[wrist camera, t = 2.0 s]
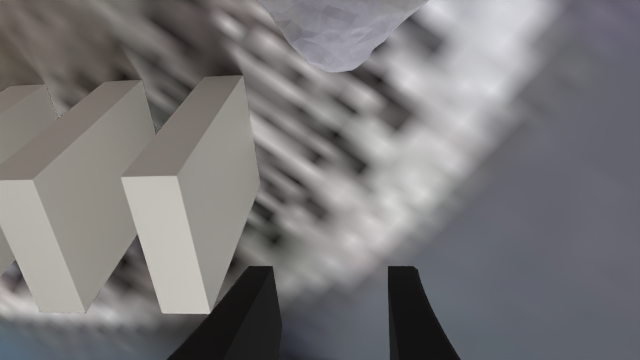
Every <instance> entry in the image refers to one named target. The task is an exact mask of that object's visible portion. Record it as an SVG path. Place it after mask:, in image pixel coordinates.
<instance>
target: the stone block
mask: <svg viewBox="0 0 640 360" xmlns="http://www.w3.org/2000/svg"><path fill="white" fill-rule="evenodd" d="M257 1H258V2H259V3H260V4H261V5H262V6H263V7H264V8H265V9H266V10H267V11H268V12H269V14H270V15H271V17H272V18H273V20H274V21H275V23H276V24H277V26H278V27H279V29H280V30H281V32H282V33H283V35H284V37H285V38H286V40H287V41H288V43H289V44H290V45H291V46H292V47H293V48H294V49H295V50H296V51H297V52H298V53H299V55H300V56H301V57H302V58H303V59H304V60H305V61H306V62H307V63H308V64H310V65H312V66H314V67H316V68H318V69H321V70H324V71H327V72H343V71H350V70H353V69H355V68H357V67H358V66H359V65H360V64H362V63H363V62H364V61H365V60H366V59H368V57H369V55H370V53H371V51H372V50H373V49H374V48H375V47H377V46H378V45H379V44H381V43H382V42H384V41H385V40H386V38H387V37H388V36H389V34H390V33H391V32H392V31H393V30H394V29H395V28H396V27H397V26H398V25H400V24H401V23H402V22H403V21H404V20H405V19H406V18H408V17H409V16H410V15H411V14H413V13H414V12H415V11H416V10H418V9H419V8H420V7H422V6H423V5H424V4H425V3H427V2H428V1H429V0H257Z"/></svg>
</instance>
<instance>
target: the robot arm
mask: <svg viewBox="0 0 640 360" xmlns="http://www.w3.org/2000/svg"><path fill="white" fill-rule="evenodd" d="M388 302H389V338H390V360H461V359H460V358H459V356H458V355H457V353H456V351H455V350H454V348H453V347H452V345H451V343H450V342H449V340H448V338H447V336H446V335H445V333H444V331H443V329H442V327H441V325H440V323H439V322H438V320H437V318H436V316H435V314H434V312H433V310H432V308H431V306H430V303H429V301H428V299H427V296H426V294H425V292H424V289H423V286H422V284H421V280H420V277H419V273H418V270H417V269H416V268H415V267H414V266H388ZM281 331H282V322H281V316H280V310H279V304H278V297H277V291H276V285H275V279H274V272H273V266H249V267H248V268H247V269H246V270H245V271H244V272H243V273H242V275H241V276H240V277H239V279H238V280H237V281H236V282H235V284H234V285H233V286H232V287H231V289H230V290H229V291H228V292H227V294H226V295H225V296H224V297H223V299H222V300H221V301H220V302H219V304H218V305H217V306H216V307H215V308H214V309H213V311H212V312H211V313H210V314H209V315H208V316H207V318H206V319H205V320H204V321H203V322H202V323H201V324H200V326H199V327H198V328H197V329H196V330H195V331H194V332H193V333H192V334H191V335H190V336H189V337H188V338H187V339H186V340H185V341H184V343H183V344H182V345H181V346H180V347H179V348H178V349H177V350H176V351H175V352H174V353H173V354H172V355H171V356H170V357H169V358H168V359H167V360H277V359H278V353H279V346H280V338H281Z"/></svg>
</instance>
